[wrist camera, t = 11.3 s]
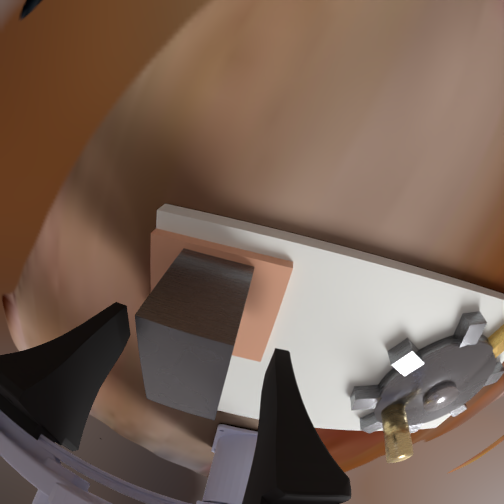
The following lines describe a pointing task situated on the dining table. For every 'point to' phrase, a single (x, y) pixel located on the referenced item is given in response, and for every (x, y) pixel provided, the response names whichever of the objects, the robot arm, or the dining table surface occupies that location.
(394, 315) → the board
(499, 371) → the sprocket
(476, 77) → the dining table surface
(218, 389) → the grey rectangular block
